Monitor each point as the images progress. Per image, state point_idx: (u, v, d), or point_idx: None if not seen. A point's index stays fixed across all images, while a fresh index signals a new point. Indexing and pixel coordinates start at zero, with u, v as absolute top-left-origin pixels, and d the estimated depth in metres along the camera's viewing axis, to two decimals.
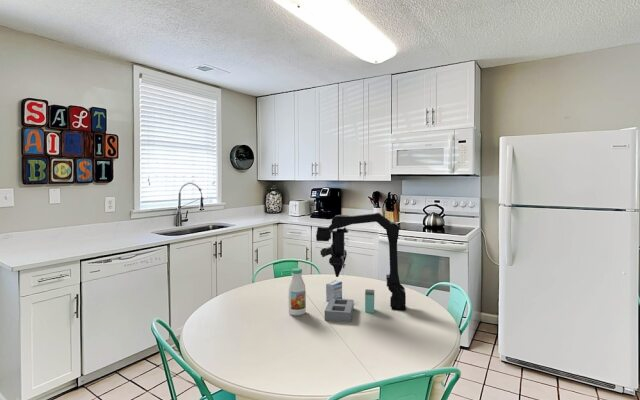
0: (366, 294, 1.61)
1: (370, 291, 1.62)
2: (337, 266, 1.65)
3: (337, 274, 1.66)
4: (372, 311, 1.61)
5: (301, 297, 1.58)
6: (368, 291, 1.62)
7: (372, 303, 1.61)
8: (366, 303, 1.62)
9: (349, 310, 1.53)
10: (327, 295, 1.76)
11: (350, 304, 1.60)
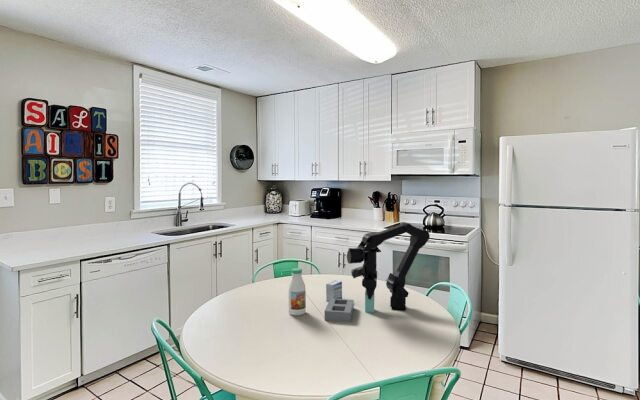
0: (366, 294, 1.61)
1: None
2: (370, 288, 1.57)
3: (370, 296, 1.58)
4: (372, 311, 1.61)
5: (301, 297, 1.58)
6: None
7: (372, 303, 1.61)
8: (366, 303, 1.62)
9: (349, 310, 1.53)
10: (327, 295, 1.76)
11: (350, 304, 1.60)
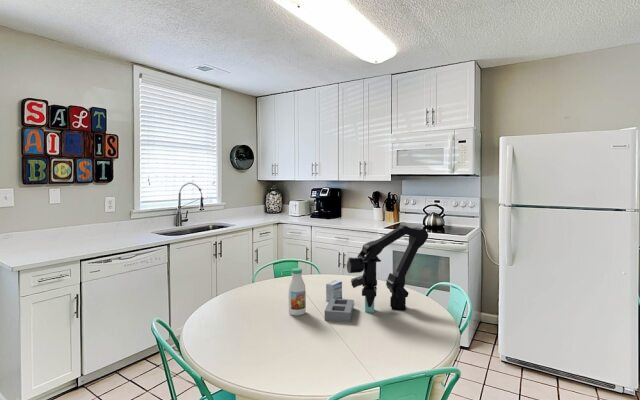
0: None
1: None
2: (370, 296, 1.60)
3: (370, 304, 1.61)
4: (372, 311, 1.61)
5: (301, 297, 1.58)
6: None
7: (372, 303, 1.61)
8: (366, 303, 1.62)
9: (349, 310, 1.53)
10: (327, 295, 1.76)
11: (350, 304, 1.60)
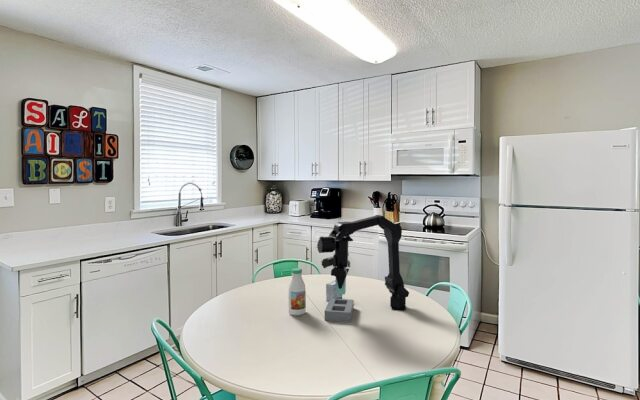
0: None
1: None
2: (340, 277, 1.52)
3: (340, 286, 1.53)
4: (342, 293, 1.54)
5: (301, 297, 1.58)
6: None
7: (343, 284, 1.53)
8: (336, 284, 1.54)
9: (349, 310, 1.53)
10: (327, 295, 1.76)
11: (350, 304, 1.60)
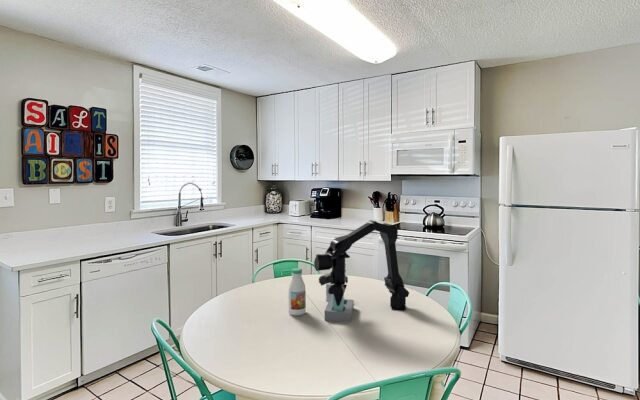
0: None
1: None
2: (338, 294, 1.52)
3: (338, 303, 1.53)
4: (341, 310, 1.54)
5: (301, 297, 1.58)
6: None
7: None
8: (334, 301, 1.54)
9: (349, 310, 1.53)
10: (327, 295, 1.76)
11: (350, 304, 1.60)
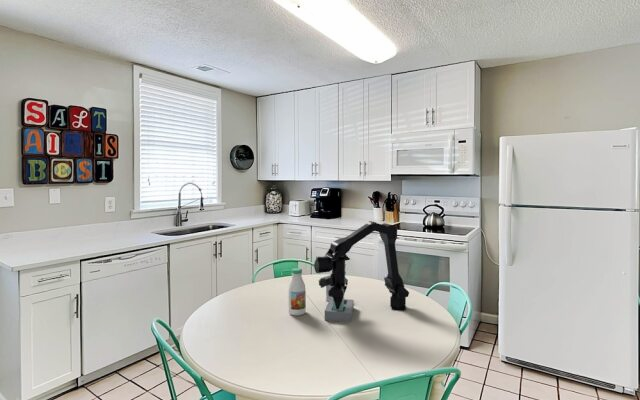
0: None
1: None
2: (337, 298, 1.51)
3: (337, 306, 1.52)
4: None
5: (301, 297, 1.58)
6: None
7: (340, 309, 1.54)
8: (334, 309, 1.54)
9: (349, 310, 1.53)
10: (327, 295, 1.76)
11: (350, 304, 1.60)
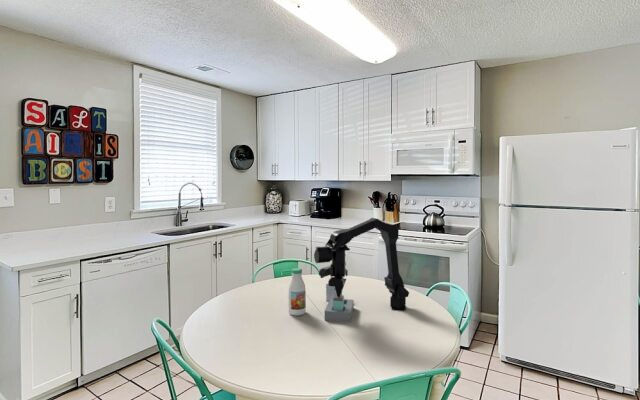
0: (334, 300, 1.54)
1: (339, 297, 1.55)
2: None
3: (338, 294, 1.55)
4: None
5: (301, 297, 1.58)
6: (336, 297, 1.55)
7: (340, 309, 1.54)
8: (334, 309, 1.54)
9: (349, 310, 1.53)
10: (327, 295, 1.76)
11: (350, 304, 1.60)
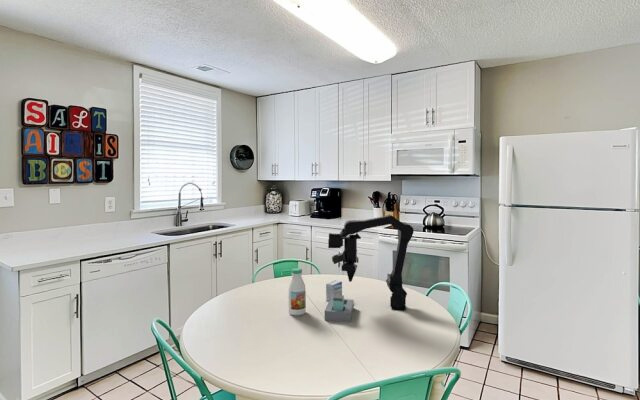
0: (334, 300, 1.54)
1: (339, 297, 1.55)
2: (350, 271, 1.64)
3: (350, 279, 1.65)
4: None
5: (301, 297, 1.58)
6: (336, 297, 1.55)
7: (340, 309, 1.54)
8: (334, 309, 1.54)
9: (349, 310, 1.53)
10: (327, 295, 1.76)
11: (350, 304, 1.60)
